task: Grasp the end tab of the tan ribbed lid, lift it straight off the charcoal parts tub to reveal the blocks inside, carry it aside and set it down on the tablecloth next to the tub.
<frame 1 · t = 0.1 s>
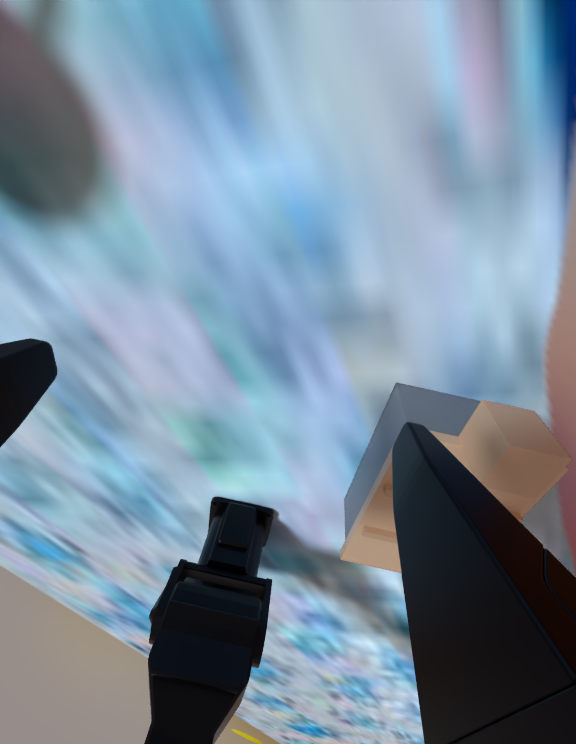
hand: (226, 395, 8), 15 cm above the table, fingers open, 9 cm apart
lid: (432, 512, 24), point 5 cm above the table, touching tub
tub: (418, 460, 28), on the table
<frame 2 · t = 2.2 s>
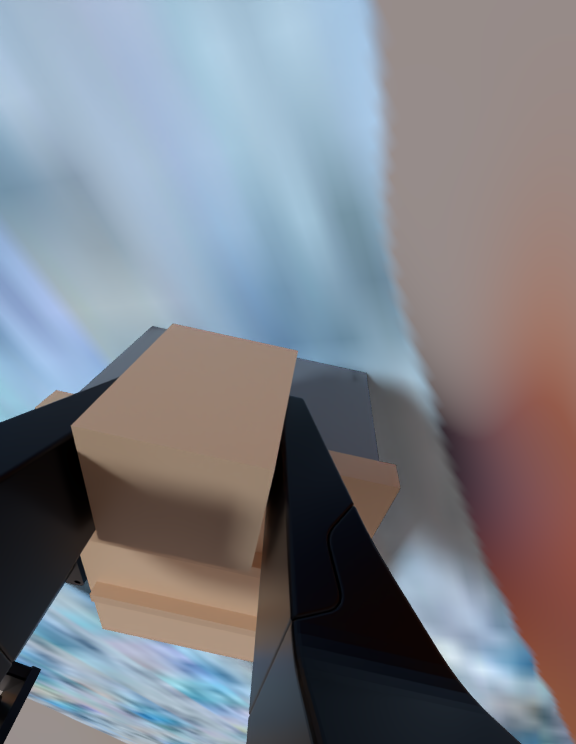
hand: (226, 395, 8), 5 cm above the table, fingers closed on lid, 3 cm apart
lid: (211, 559, 13), point 5 cm above the table, touching gripper, tub
tub: (241, 463, 18), on the table
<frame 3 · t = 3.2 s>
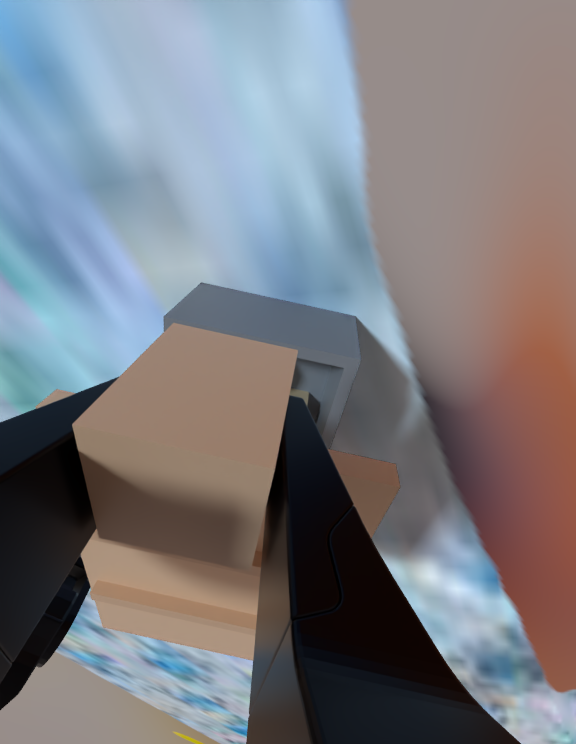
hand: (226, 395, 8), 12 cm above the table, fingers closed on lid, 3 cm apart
lid: (212, 557, 13), point 11 cm above the table, touching gripper
tub: (261, 395, 23), on the table
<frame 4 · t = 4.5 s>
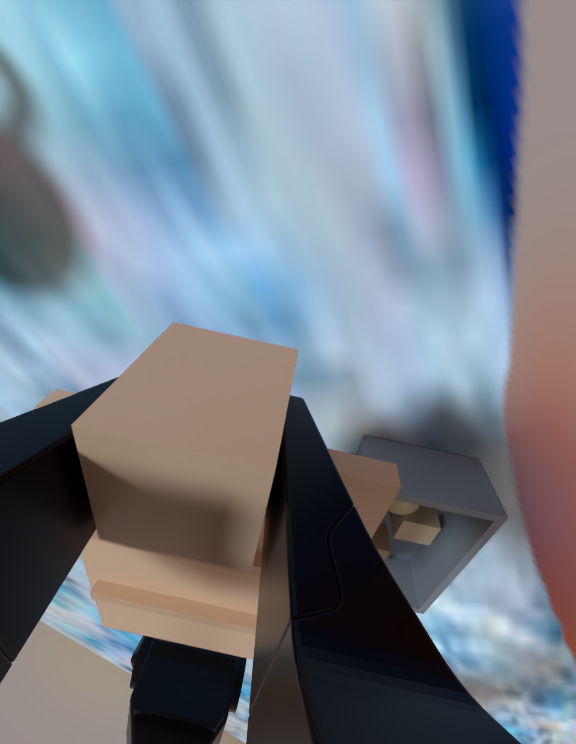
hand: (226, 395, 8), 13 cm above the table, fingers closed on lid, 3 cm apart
lid: (212, 557, 13), point 13 cm above the table, touching gripper
tub: (391, 503, 29), on the table
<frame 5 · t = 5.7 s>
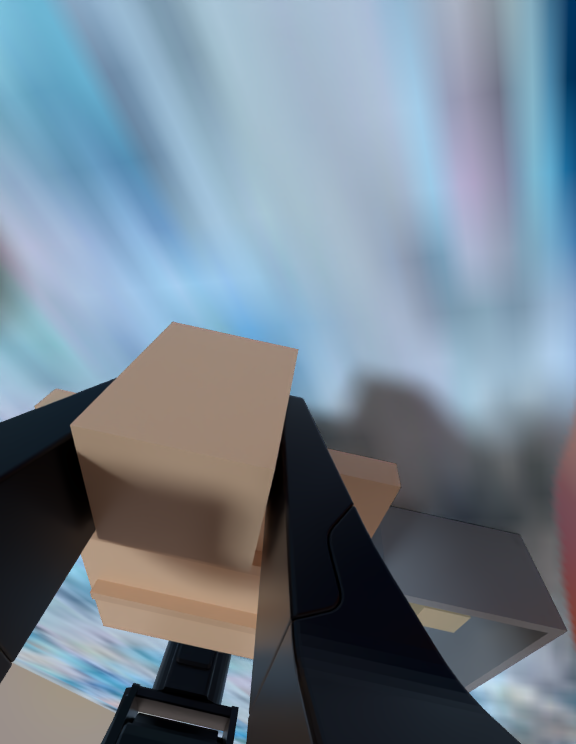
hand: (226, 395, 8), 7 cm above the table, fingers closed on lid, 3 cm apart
lid: (212, 557, 13), point 7 cm above the table, touching gripper
tub: (406, 574, 24), on the table
when the fingers open (2 cm above the table, at t = 6.8 s): lid drops 2 cm, on the table.
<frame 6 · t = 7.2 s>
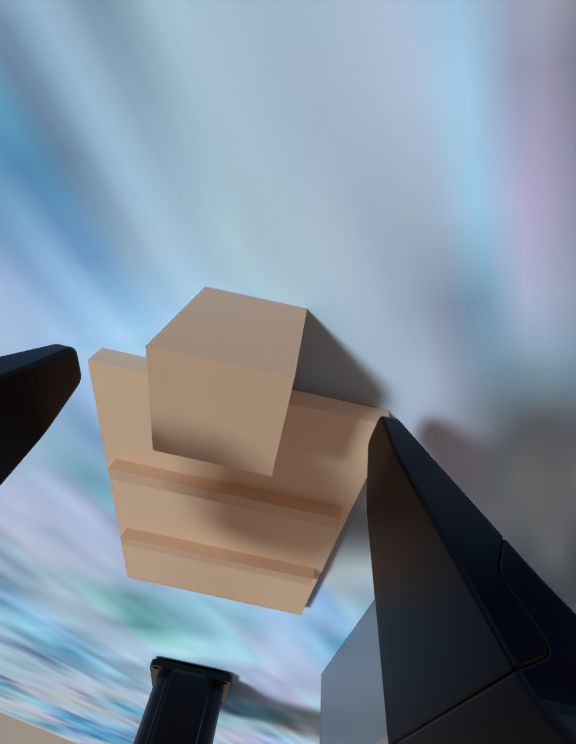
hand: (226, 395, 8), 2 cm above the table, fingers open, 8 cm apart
lid: (228, 506, 15), on the table
tub: (419, 652, 21), on the table
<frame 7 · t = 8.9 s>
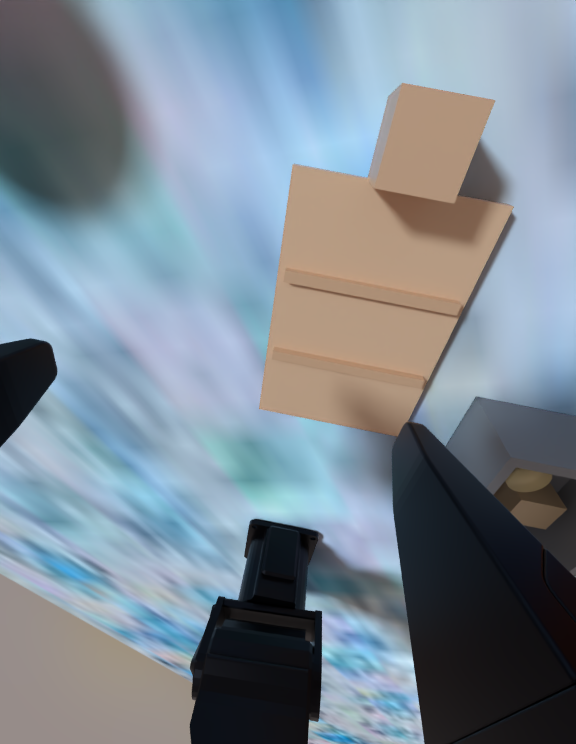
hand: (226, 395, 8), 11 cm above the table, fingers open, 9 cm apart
lid: (357, 324, 19), on the table
tub: (491, 480, 25), on the table
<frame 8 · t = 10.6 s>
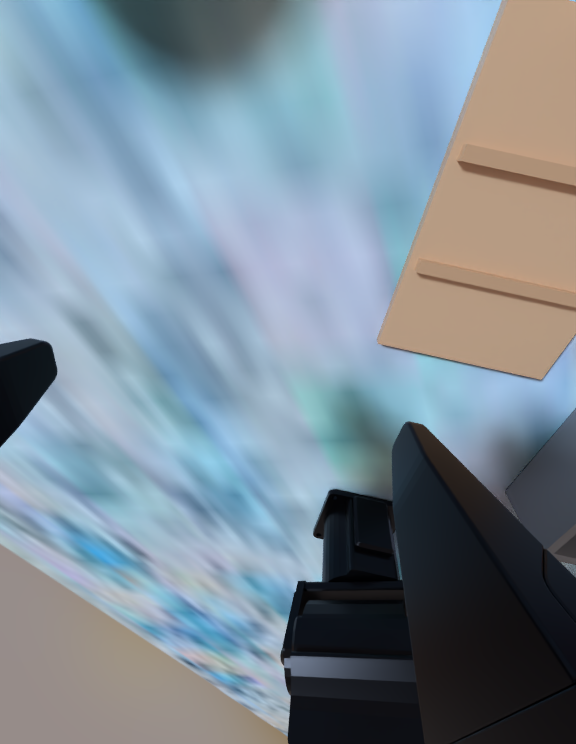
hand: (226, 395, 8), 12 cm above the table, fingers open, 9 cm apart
lid: (522, 230, 16), on the table
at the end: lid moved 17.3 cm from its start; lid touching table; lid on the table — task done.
